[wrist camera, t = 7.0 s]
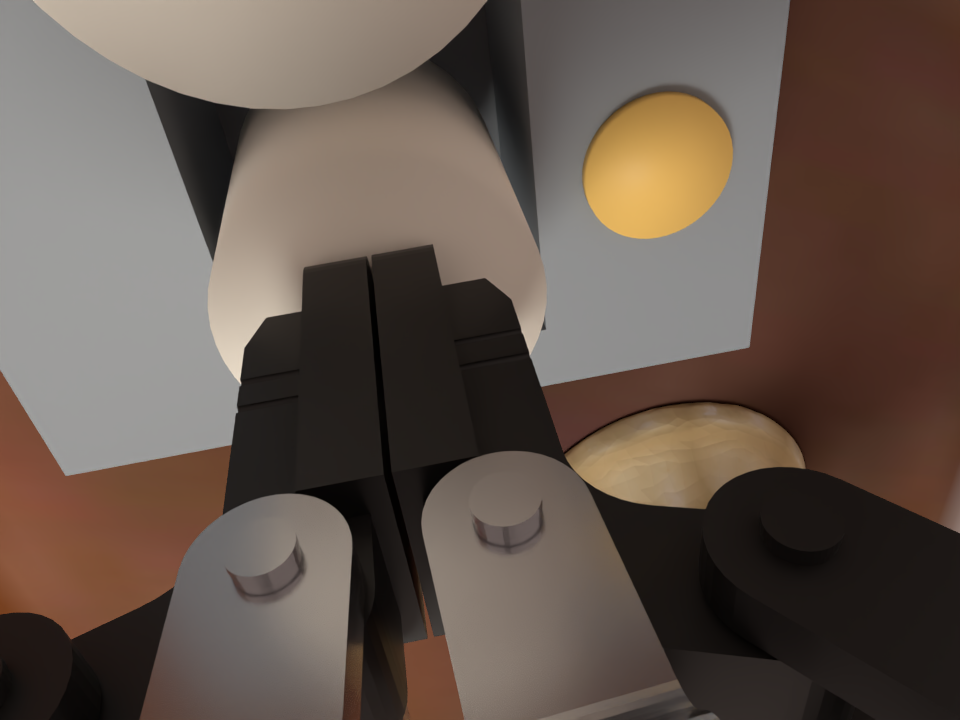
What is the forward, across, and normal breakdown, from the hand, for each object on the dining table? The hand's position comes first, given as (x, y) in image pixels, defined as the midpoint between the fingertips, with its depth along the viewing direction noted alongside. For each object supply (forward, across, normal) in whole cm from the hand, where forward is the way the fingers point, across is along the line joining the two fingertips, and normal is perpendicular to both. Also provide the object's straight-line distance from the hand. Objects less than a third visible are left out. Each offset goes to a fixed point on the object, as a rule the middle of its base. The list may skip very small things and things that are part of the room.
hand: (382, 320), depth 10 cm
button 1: (+4, 0, 0) cm, 4 cm away
